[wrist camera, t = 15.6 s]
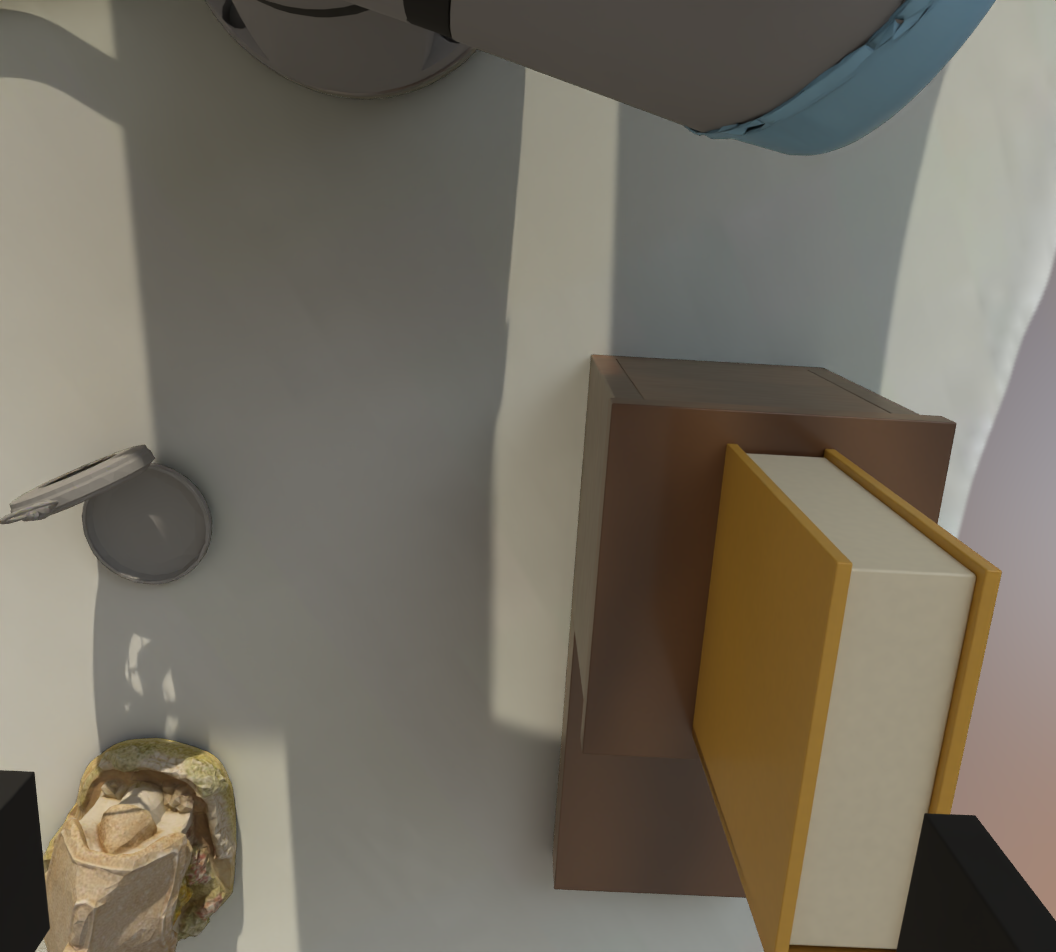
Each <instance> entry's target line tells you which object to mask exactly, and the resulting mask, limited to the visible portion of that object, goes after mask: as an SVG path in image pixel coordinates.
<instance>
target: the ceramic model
mask: <svg viewBox="0 0 1056 952" xmlns="http://www.w3.org/2000/svg"><path fill="white" fill-rule="evenodd" d="M76 802H77V803H76V804H75V805H74V807H73V808H72V809H71V811H70V812H69V813H68V815H67V817H66V820H65V822H64V824H63V825H62V826H61V828H60V829H59V830H58V832H57V833H56V835H55V836H54V837H53V838H52V840H51V841H50V842H49V846H48V849H47V851H46V852H45V854H44V856H43V863H44V873H45V882H46V892H47V902H48V912H49V922H50V929H49V931H48V932H47V934H46V935H45V937H44V941H45V944H46V947H47V951H48V952H175V950H176V946H177V942H178V941H179V940H181V939H182V938H183V939H186V938H187V937H189V936H197V935H199V934H200V932H201V931H202V930H203V929H204V928H205V927H206V925H207V924H208V923H209V917H210V916H211V915H212V914H213V913H214V912H216V911H217V910H218V908H219V907H220V906H221V905H222V904H223V903H224V902H225V901H226V900H227V899H228V898H229V896H230V895H231V894H232V892H233V883H234V875H235V856H236V848H237V842H236V811H235V802H234V796H233V788H232V784H231V782H230V779H229V777H228V774H227V772H226V770H225V768H224V767H223V765H222V764H221V762H220V761H219V760H218V759H217V758H216V757H215V756H214V755H212V754H210V753H209V752H207V751H204V750H201V749H199V748H196V747H193V746H190V745H187V744H182V743H179V742H176V741H171V740H167V739H162V738H147V739H145V738H143V739H133V740H127V741H123V742H120V743H118V744H115V745H113V746H112V747H110V748H109V749H107V750H106V751H105V752H103V753H102V754H101V755H99V756H97V757H96V758H95V759H94V760H93V761H92V762H91V763H90V764H89V765H88V767H87V768H86V770H85V772H84V774H83V776H82V778H81V781H80V787H79V792H78V797H77V801H76Z"/></svg>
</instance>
